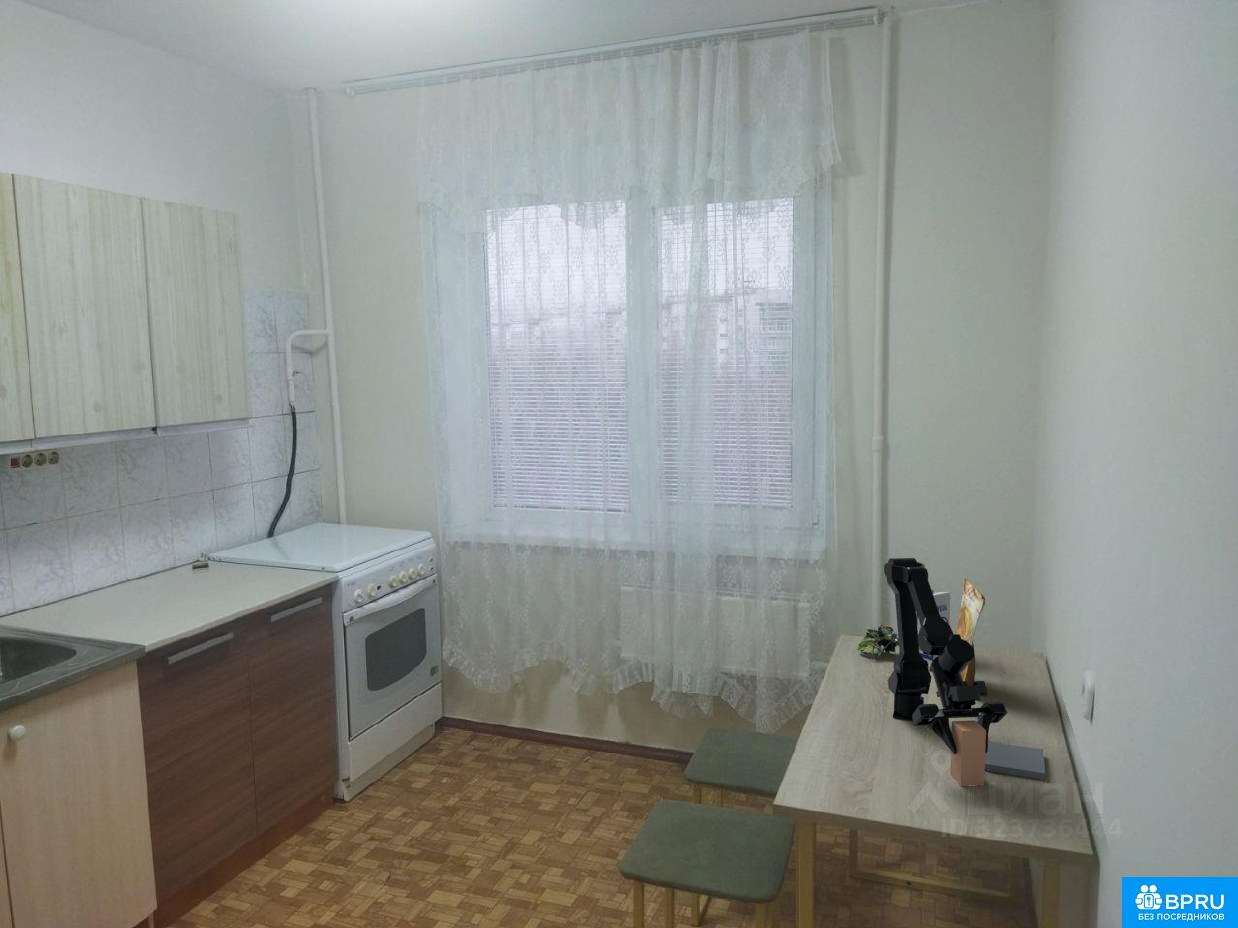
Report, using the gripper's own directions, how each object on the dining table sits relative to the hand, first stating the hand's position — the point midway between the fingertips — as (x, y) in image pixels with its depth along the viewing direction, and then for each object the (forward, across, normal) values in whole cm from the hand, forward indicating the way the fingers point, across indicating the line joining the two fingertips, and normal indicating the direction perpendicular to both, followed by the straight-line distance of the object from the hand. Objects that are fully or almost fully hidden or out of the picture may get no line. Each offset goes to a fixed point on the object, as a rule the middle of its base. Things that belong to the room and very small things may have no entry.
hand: (970, 753), depth 180 cm
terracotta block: (+4, 0, +6) cm, 7 cm away
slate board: (-1, +14, +10) cm, 17 cm away
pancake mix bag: (-32, +23, +42) cm, 58 cm away
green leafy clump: (-50, +9, +60) cm, 79 cm away
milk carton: (-49, +24, +59) cm, 81 cm away
